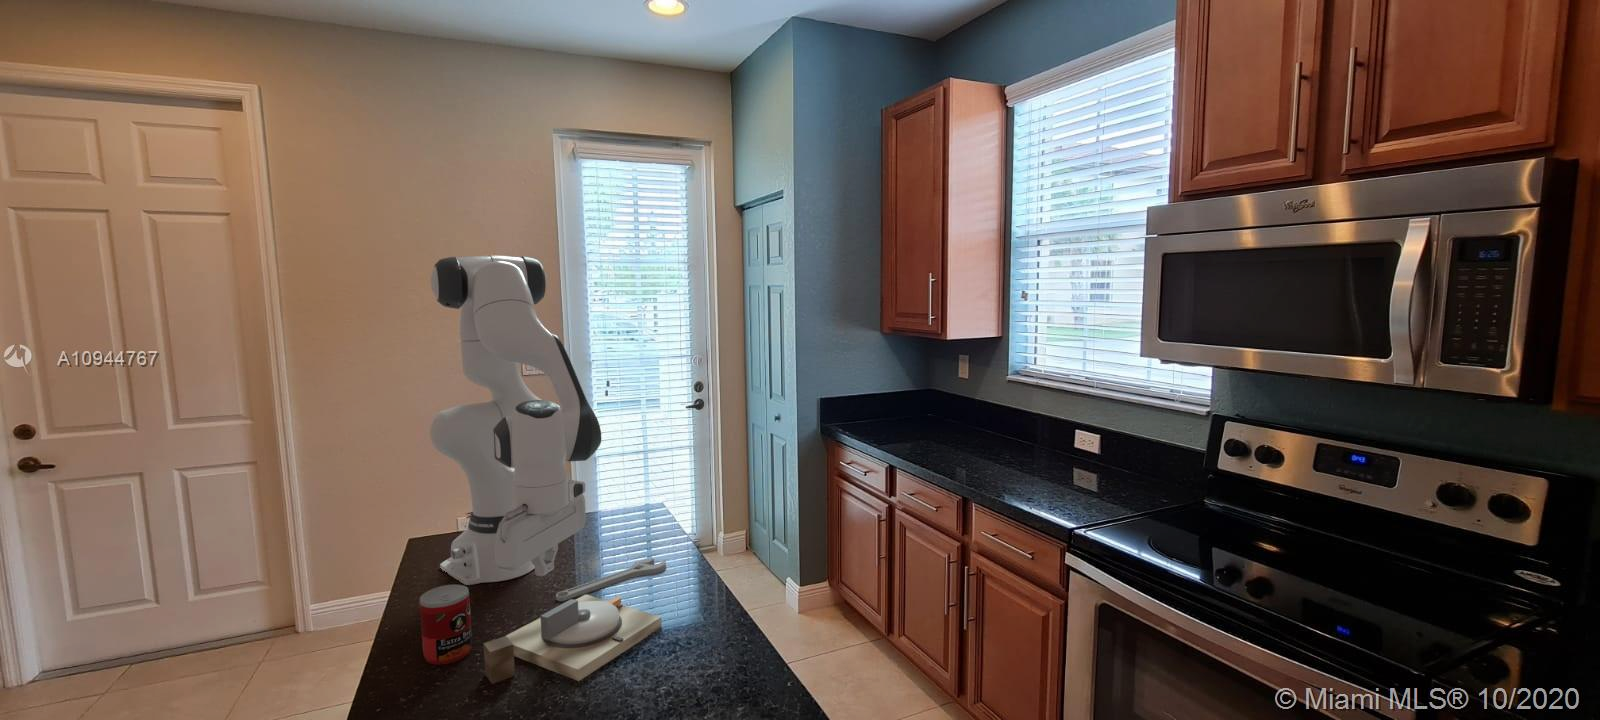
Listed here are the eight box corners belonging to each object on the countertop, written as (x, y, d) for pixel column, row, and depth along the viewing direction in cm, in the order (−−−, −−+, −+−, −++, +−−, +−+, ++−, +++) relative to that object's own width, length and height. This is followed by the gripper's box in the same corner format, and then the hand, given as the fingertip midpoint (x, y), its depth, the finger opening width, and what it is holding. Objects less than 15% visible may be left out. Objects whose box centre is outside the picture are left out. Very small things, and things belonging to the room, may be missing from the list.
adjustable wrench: (559, 605, 137) (558, 597, 137) (548, 594, 142) (548, 586, 142) (669, 570, 153) (668, 563, 152) (656, 562, 158) (655, 555, 157)
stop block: (492, 684, 109) (490, 652, 108) (485, 674, 111) (483, 643, 111) (515, 675, 111) (513, 644, 110) (507, 666, 114) (506, 635, 113)
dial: (573, 657, 112) (571, 625, 111) (518, 639, 118) (517, 609, 117) (644, 610, 128) (643, 582, 127) (593, 597, 134) (592, 570, 133)
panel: (499, 650, 119) (498, 637, 119) (586, 603, 136) (585, 592, 136) (578, 681, 109) (578, 667, 109) (661, 627, 126) (661, 615, 126)
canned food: (440, 670, 113) (435, 608, 112) (414, 657, 117) (409, 597, 116) (482, 649, 119) (478, 590, 118) (456, 637, 124) (452, 580, 122)
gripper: (516, 518, 104) (520, 602, 106) (590, 480, 124) (593, 552, 126) (482, 514, 106) (487, 597, 108) (561, 477, 126) (564, 548, 127)
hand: (544, 572), depth 117 cm, fingers closed
